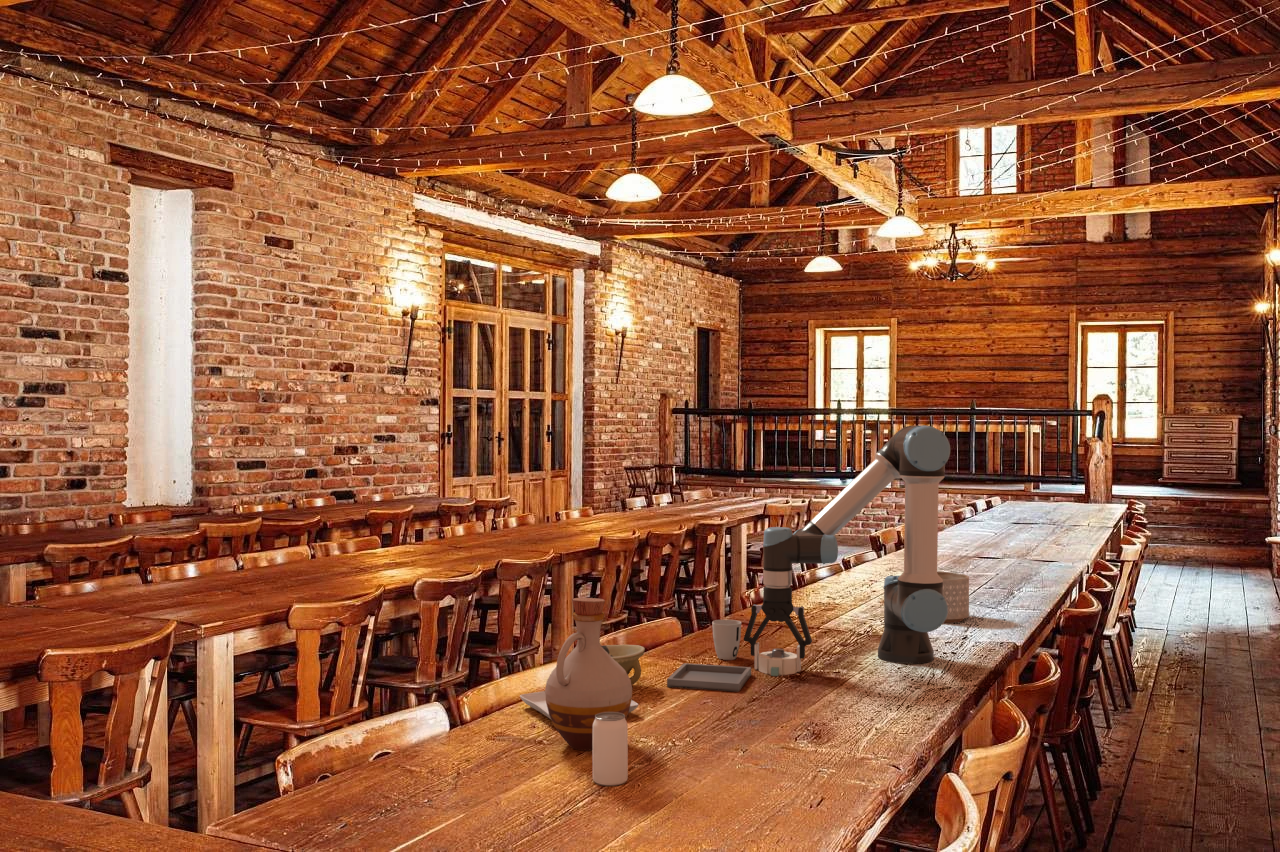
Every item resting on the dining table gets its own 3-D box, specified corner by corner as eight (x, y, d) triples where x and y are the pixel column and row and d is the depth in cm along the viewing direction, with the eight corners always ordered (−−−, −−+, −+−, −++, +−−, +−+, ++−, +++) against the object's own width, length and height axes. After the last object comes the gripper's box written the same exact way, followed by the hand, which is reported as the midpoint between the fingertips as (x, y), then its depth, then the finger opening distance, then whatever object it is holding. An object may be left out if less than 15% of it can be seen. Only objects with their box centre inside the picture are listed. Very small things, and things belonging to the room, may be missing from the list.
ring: (799, 667, 289) (799, 652, 288) (793, 677, 277) (793, 661, 277) (762, 665, 291) (762, 650, 291) (755, 674, 280) (755, 659, 280)
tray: (751, 674, 280) (751, 667, 280) (738, 691, 263) (738, 683, 263) (683, 670, 285) (683, 663, 285) (667, 687, 268) (667, 679, 267)
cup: (739, 661, 295) (739, 625, 295) (710, 660, 297) (710, 624, 297) (742, 655, 303) (742, 620, 303) (714, 654, 305) (714, 619, 305)
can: (591, 775, 201) (591, 711, 201) (626, 774, 202) (626, 710, 202) (593, 787, 195) (593, 721, 195) (628, 786, 195) (628, 720, 195)
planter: (975, 617, 362) (975, 574, 361) (959, 626, 346) (959, 581, 346) (921, 611, 372) (921, 570, 371) (903, 620, 356) (903, 576, 356)
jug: (595, 766, 206) (595, 610, 206) (521, 751, 216) (521, 602, 216) (648, 740, 223) (648, 595, 223) (578, 727, 233) (578, 588, 232)
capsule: (785, 669, 286) (785, 648, 286) (783, 672, 283) (783, 651, 283) (773, 668, 287) (773, 648, 287) (771, 671, 284) (771, 650, 284)
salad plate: (553, 731, 231) (553, 715, 231) (517, 707, 250) (517, 693, 250) (641, 718, 241) (641, 703, 241) (600, 696, 260) (600, 682, 260)
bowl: (656, 682, 273) (656, 644, 273) (625, 698, 257) (625, 658, 256) (594, 675, 280) (594, 638, 280) (561, 691, 264) (561, 652, 264)
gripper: (822, 585, 285) (822, 668, 286) (737, 582, 292) (737, 663, 292) (819, 589, 278) (819, 675, 278) (732, 586, 284) (732, 669, 285)
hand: (777, 669), depth 285 cm, fingers open, 10 cm apart
